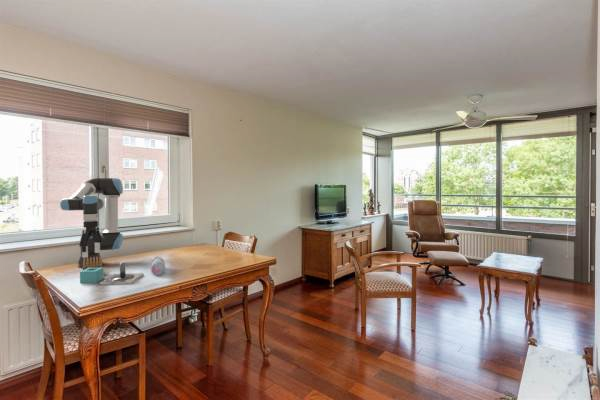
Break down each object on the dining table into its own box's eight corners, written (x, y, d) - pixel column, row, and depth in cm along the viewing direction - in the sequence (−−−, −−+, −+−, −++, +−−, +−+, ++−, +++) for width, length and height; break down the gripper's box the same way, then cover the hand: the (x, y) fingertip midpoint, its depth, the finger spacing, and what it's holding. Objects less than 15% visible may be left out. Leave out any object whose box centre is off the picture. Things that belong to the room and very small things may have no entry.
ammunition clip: (102, 273, 208) (101, 255, 208) (102, 273, 207) (101, 256, 206) (82, 275, 202) (82, 257, 202) (82, 276, 201) (82, 257, 200)
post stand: (114, 276, 201) (114, 260, 201) (143, 275, 204) (143, 259, 203) (99, 284, 184) (99, 267, 183) (131, 283, 186) (131, 266, 185)
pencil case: (151, 269, 219) (151, 256, 218) (164, 267, 223) (164, 254, 222) (151, 277, 200) (150, 262, 200) (165, 275, 204) (165, 261, 203)
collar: (88, 278, 195) (88, 267, 195) (103, 278, 196) (103, 267, 196) (80, 283, 187) (79, 271, 186) (96, 282, 188) (95, 271, 187)
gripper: (85, 222, 178) (86, 259, 179) (107, 218, 203) (108, 250, 203) (71, 222, 177) (72, 259, 178) (95, 218, 202) (95, 251, 202)
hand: (91, 255), depth 191 cm, fingers open, 13 cm apart
